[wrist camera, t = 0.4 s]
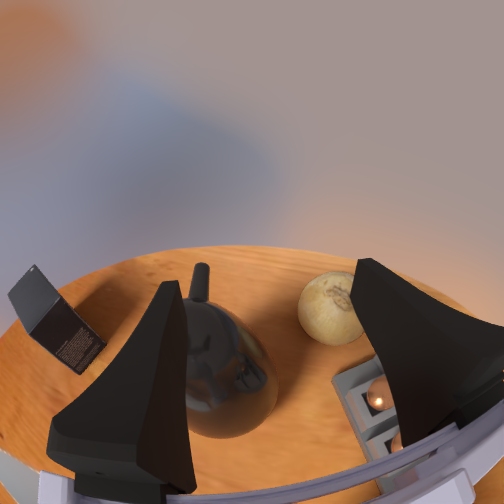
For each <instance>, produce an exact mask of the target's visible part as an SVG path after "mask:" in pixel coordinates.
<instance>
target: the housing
mask: <svg viewBox="0 0 504 504" xmlns="http://www.w3.org/2000/svg"><path fill="white" fill-rule="evenodd" d="M382 376H385V373H384V370H383V367H382V365H381V362H380V360H379V358H378V356H377V354H376V355H375V357H374V359H372V360H369V361H367V362H365V363H363V364H361V365H359V366H356V367H354V368H352V369H349V370H347V371H345V372H342V373H340V374H338V375H335V376H333V378H332V381H331V382H332V384H333V386H334V388H335V390H336V393H337V395H338V397H339V399H340V401H341V404H342V406H343V408H344V410H345V413H346V415H347V417H348V419H349V421H350V424H351V426H352V428H353V430H354V433H355V435H356V437H357V440H358V442H359V444H360V446H361V449H362V451H363V453H364V455H365V458H366V460H367V462H368V463H369V462H371V461H374V460H377V459H379V458H382V457H384V456H387V455H389V454H392V452H391V442H392V440H393V438H394V436H395V435H396V434H397V433H398V432H399V431H400V429H399V424H398V418H397V414H396V409H395V405H394V406H393V407H392V408H390V409H388V410H385V411H379V410H376V409H374V408H372V407H371V406H370V404H369V403H368V401H367V391H368V388H369V387H370V385H371V384H372V383H373V381H374V380H376V379H377V378H379V377H382ZM429 455H430V454H428V455H426V456H424V457H422V458H420V459H418V460H416V461H414V462H412V463H410V464H408V465H406V466H404V467H402V468H400V469H397V470H395V471H393V472H391V473H388V474H386V475H384V476H381V477H379V478H376V479H375V481H376V483H377V486H378V488H379V490H380V493H381V495H383V494H386V493H388V492H390V491H392V490H395V485H394V482H393V479H394V478H395V477H397V476H399V475H401V474H403V473H405V472H406V471H408V470H410V469H412V468H413V467H415V466H416V465H418V464H420V463H422V462H424V461H426V460H427V459H428V458H429Z"/></svg>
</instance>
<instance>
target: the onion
mask: <svg viewBox="0 0 504 504" xmlns="http://www.w3.org/2000/svg"><path fill="white" fill-rule="evenodd" d="M353 279H354V276H353V275H351V274H349V273H346V272H335V271H334V272H328V273H324V274H322V275H320V276H318V277H316V278H314V279H313V280H311V281H310V282H309V283H308V284H307V285H306V286H305V288H304V289H303V291H302V293H301V295H300V298H299V302H298V309H297V311H298V318H299V322H300V324H301V326H302V327H303V329H304V330H305V332H306V333H307V334H308V335H309V336H310V337H312V338H313V339H315V340H317V341H318V342H320V343H323V344H326V345H332V346H340V345H345V344H348V343H350V342H352V341H354V340H356V339H357V338H358V337H360V336H361V334H362V333H363V332H364V329H363V327H362V326H361V324H360V322H359V320H358V318H357V316H356V313H355V311H354V308H353V305H352V303H351V300H350V297H349V296H350V292H351V288H352V283H353Z"/></svg>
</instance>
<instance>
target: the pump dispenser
mask: <svg viewBox="0 0 504 504" xmlns="http://www.w3.org/2000/svg"><path fill="white" fill-rule="evenodd" d="M209 275H210V267H209V265H208V264H206V263H202V262H200V263H197V264H196V265H195V267H194V272H193V276H192V281H191V286H190V291H189V296H188V298H183V303H184V307H185V311H186V315H187V324H188V353H187V370H186V412H187V423H188V429H189V430H191V431H193V432H194V433H197V434H199V435H202V436H205V437H209V438H215V439H228V438H234V437H238V436H241V435H244V434H246V433H248V432H250V431H252V430H253V429H255V428H256V427H258V426H259V425H260V424H261V423H262V422H263V421H264V420H265V419H266V418H267V417H268V416H269V414H270V413H271V411H272V410H273V408H274V406H275V403H276V401H277V397H278V392H279V378H278V373H277V369H276V366H275V363H274V361H273V359H272V357H271V355H270V353H269V352H268V350H267V348H266V347H265V345H264V344H263V342H262V341H261V339H260V338H259V337H258V336H257V334H256V333H255V332H254V331H253V330H252V329H251V328H250V327H249V326H248V325H247V324H246V323H245V322H244V321H242V320H241V319H240V318H239V317H238V316H236V315H235V314H234V313H232V312H231V311H229V310H227V309H226V308H224V307H222V306H220V305H218V304H216V303H213V302H210V301H209Z"/></svg>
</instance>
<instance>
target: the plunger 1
mask: <svg viewBox="0 0 504 504" xmlns="http://www.w3.org/2000/svg"><path fill="white" fill-rule="evenodd" d="M367 401H368V403H369V404H370V406H371V407H372V408H374V409H376V410H379V411H385V410H388V409H390V408H392V407H393V406H394V401H393V398H392V394H391V391H390V388H389V384H388V381H387V378H386V376H382V377H379V378H377V379H376V380H374V381H373V383H372V384H371V385H370V387H369V388H368V391H367Z"/></svg>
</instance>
